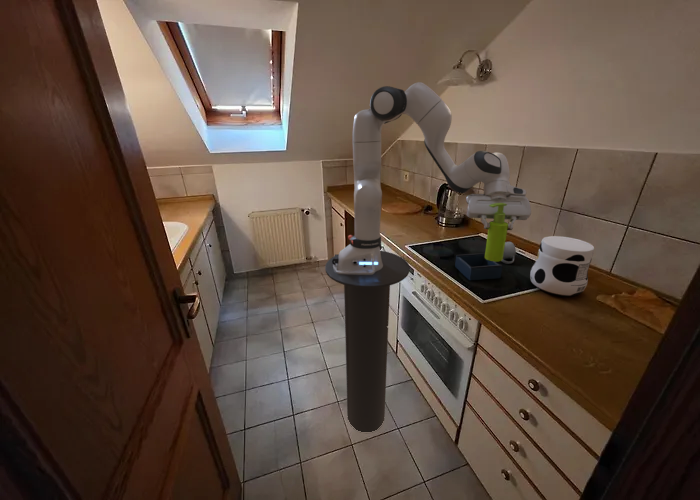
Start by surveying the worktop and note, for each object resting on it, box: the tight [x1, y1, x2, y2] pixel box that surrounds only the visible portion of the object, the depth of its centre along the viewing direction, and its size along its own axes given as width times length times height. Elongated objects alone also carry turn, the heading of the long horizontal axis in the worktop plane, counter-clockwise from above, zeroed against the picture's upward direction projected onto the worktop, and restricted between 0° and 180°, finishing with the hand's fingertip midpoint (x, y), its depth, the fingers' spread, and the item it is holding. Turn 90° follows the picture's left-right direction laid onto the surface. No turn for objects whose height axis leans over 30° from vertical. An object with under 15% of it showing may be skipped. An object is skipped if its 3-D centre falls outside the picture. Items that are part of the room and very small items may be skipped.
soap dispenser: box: [484, 203, 509, 263], centre depth 103 cm, size 6×7×20 cm
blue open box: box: [454, 252, 503, 281], centre depth 123 cm, size 13×13×6 cm
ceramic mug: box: [501, 241, 517, 265], centre depth 134 cm, size 11×8×8 cm
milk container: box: [529, 235, 595, 297], centre depth 107 cm, size 17×17×18 cm
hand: (498, 228), depth 101 cm, fingers closed on soap dispenser, 6 cm apart
